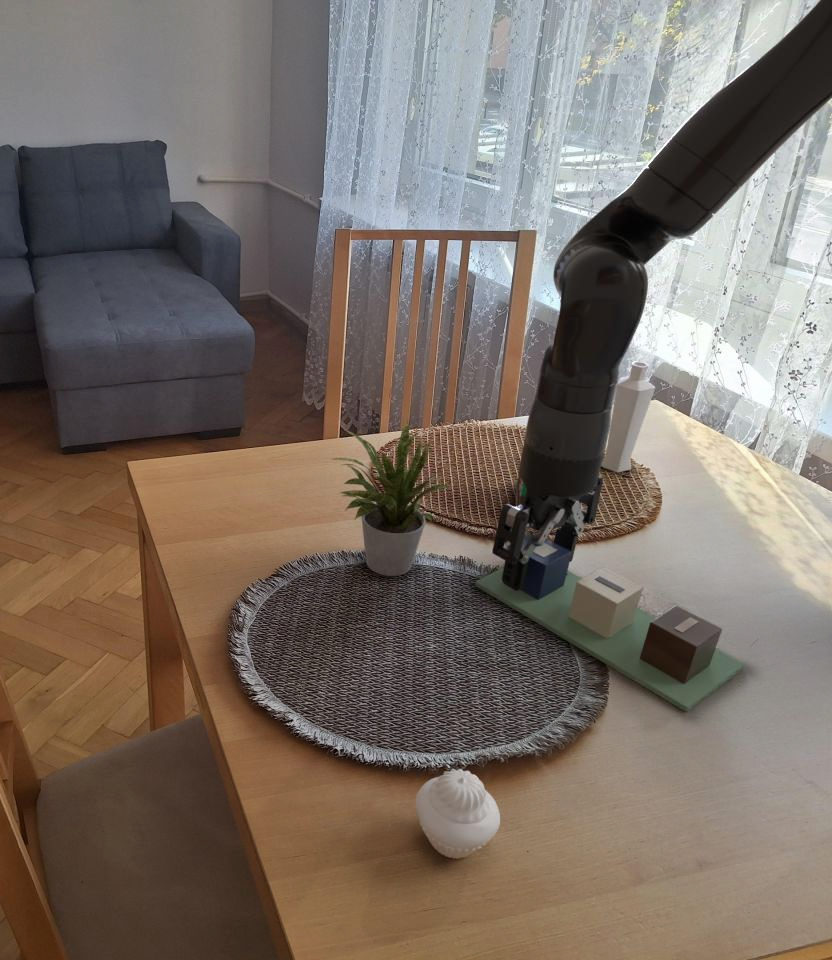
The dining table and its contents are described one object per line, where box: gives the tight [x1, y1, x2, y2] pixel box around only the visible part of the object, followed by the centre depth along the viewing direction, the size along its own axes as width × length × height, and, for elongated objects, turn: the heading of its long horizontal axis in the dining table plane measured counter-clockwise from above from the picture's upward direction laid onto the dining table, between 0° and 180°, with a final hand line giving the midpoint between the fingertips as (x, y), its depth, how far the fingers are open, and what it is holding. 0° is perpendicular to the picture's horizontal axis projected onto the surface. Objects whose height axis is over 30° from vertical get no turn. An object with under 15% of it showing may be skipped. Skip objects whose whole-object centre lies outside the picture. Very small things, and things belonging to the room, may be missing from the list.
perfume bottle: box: [601, 360, 656, 473], centre depth 115 cm, size 5×4×15 cm
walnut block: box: [640, 605, 723, 684], centre depth 82 cm, size 4×4×5 cm
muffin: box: [414, 768, 501, 860], centre depth 65 cm, size 6×6×7 cm
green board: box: [474, 566, 745, 713], centre depth 89 cm, size 10×24×1 cm, turn 34°
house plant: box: [332, 419, 453, 577], centre depth 97 cm, size 14×14×16 cm
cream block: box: [569, 566, 644, 639], centre depth 88 cm, size 4×4×5 cm
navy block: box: [520, 533, 572, 600], centre depth 94 cm, size 4×4×5 cm
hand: (537, 572), depth 94 cm, fingers open, 8 cm apart
